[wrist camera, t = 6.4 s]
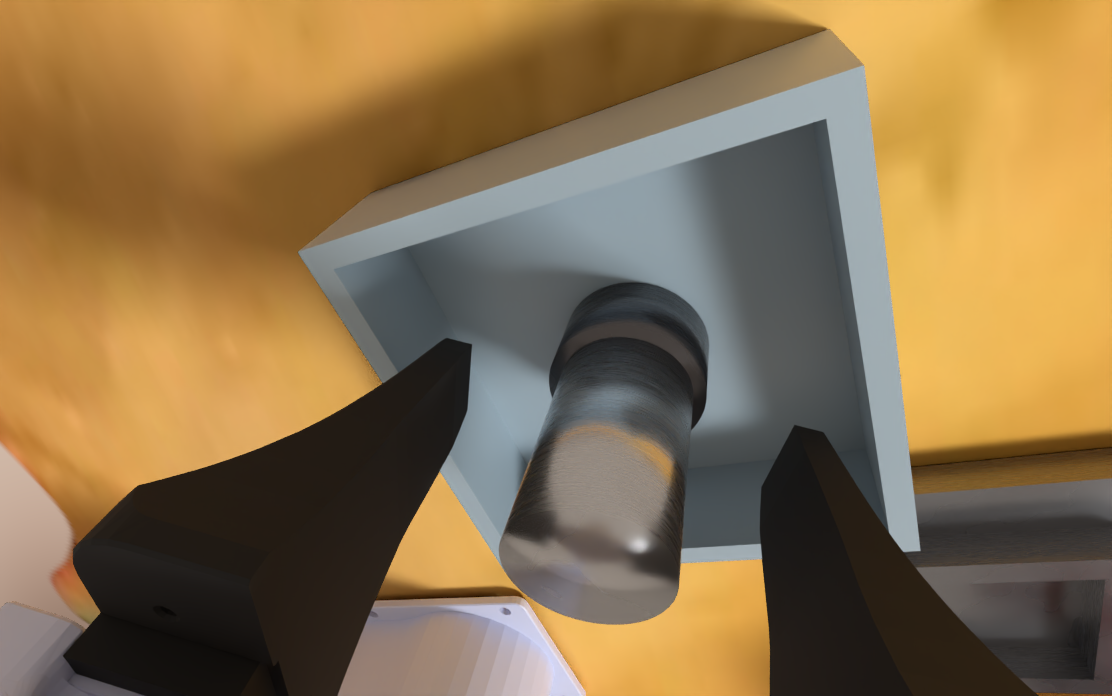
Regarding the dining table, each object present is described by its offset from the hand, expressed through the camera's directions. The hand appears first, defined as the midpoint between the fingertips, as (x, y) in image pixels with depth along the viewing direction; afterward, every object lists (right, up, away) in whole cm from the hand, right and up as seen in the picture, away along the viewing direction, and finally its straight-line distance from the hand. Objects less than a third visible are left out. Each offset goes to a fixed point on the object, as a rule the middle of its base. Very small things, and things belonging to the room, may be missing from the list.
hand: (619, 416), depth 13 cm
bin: (+1, +2, +3) cm, 4 cm away
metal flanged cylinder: (+1, +2, +3) cm, 3 cm away
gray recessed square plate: (+12, -6, +6) cm, 14 cm away
